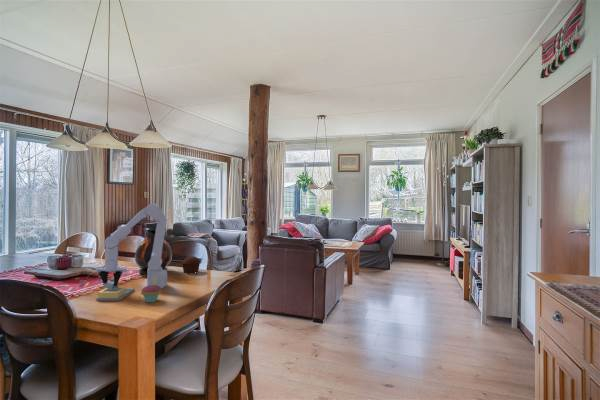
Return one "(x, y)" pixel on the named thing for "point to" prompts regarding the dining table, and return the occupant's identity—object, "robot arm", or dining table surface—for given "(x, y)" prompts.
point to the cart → (109, 284)
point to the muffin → (191, 264)
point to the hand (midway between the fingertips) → (110, 285)
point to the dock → (113, 294)
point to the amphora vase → (146, 250)
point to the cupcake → (151, 292)
